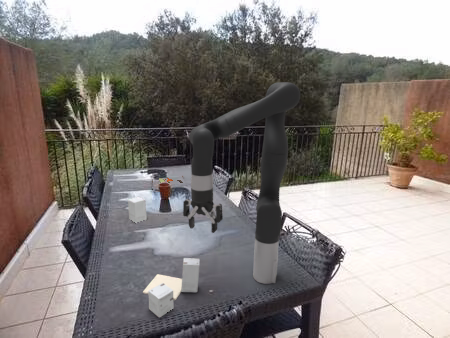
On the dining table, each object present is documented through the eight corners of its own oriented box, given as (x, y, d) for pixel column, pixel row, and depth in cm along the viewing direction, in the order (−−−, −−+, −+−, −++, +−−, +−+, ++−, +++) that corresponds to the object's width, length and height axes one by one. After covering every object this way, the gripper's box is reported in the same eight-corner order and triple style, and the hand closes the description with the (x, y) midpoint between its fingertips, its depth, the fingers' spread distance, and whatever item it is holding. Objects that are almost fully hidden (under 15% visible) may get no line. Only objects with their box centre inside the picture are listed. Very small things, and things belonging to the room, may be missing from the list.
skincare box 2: (197, 285, 109) (200, 257, 106) (197, 293, 105) (200, 265, 101) (181, 284, 108) (183, 256, 105) (180, 292, 104) (183, 264, 101)
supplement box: (147, 220, 164) (146, 199, 161) (135, 224, 159) (134, 202, 156) (140, 216, 169) (139, 196, 166) (128, 220, 164) (127, 199, 161)
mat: (187, 281, 112) (187, 280, 111) (175, 300, 101) (175, 298, 101) (157, 275, 115) (157, 274, 115) (142, 293, 104) (142, 291, 104)
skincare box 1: (159, 318, 93) (158, 299, 91) (148, 309, 97) (147, 290, 95) (174, 308, 97) (173, 290, 95) (163, 300, 101) (162, 282, 99)
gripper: (225, 185, 98) (225, 229, 102) (189, 180, 103) (190, 222, 107) (216, 192, 91) (216, 238, 95) (178, 186, 97) (179, 230, 101)
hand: (202, 229), depth 101 cm, fingers open, 8 cm apart
